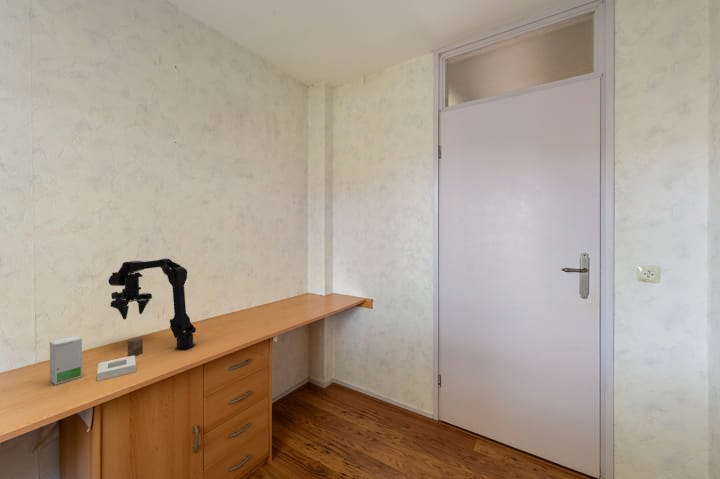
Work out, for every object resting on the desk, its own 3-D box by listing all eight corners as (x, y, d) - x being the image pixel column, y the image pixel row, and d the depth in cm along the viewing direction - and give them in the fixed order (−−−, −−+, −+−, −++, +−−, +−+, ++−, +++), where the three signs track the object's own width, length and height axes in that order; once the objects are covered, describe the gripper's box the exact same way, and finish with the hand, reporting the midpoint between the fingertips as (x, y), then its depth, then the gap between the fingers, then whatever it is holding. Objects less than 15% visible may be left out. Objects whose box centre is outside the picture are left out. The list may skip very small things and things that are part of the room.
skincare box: (54, 385, 113) (53, 344, 112) (49, 381, 116) (47, 341, 116) (83, 376, 120) (82, 337, 120) (78, 372, 124) (76, 334, 123)
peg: (142, 352, 143) (142, 338, 143) (135, 356, 139) (135, 341, 139) (135, 352, 143) (134, 338, 143) (127, 356, 139) (127, 341, 139)
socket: (135, 361, 133) (134, 355, 133) (136, 371, 124) (135, 364, 123) (99, 369, 126) (99, 362, 125) (97, 381, 116) (97, 373, 116)
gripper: (133, 282, 162) (134, 311, 162) (99, 289, 143) (100, 321, 144) (152, 282, 160) (153, 311, 161) (120, 289, 142) (121, 322, 142)
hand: (132, 316), depth 152 cm, fingers open, 9 cm apart
